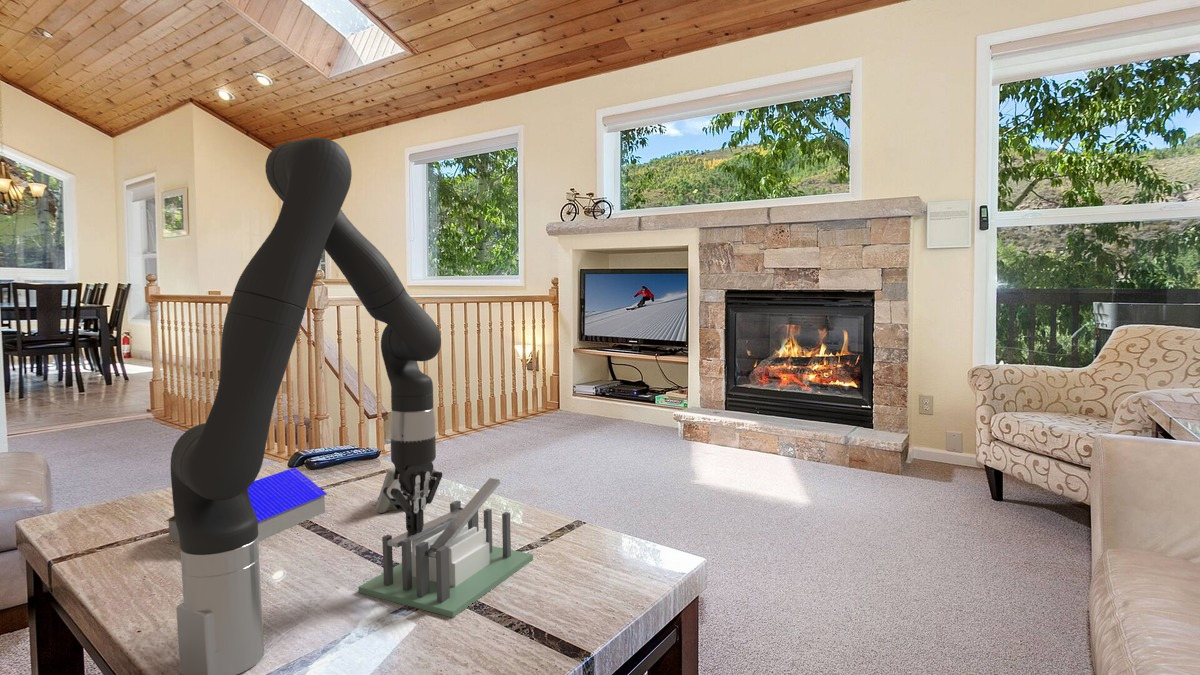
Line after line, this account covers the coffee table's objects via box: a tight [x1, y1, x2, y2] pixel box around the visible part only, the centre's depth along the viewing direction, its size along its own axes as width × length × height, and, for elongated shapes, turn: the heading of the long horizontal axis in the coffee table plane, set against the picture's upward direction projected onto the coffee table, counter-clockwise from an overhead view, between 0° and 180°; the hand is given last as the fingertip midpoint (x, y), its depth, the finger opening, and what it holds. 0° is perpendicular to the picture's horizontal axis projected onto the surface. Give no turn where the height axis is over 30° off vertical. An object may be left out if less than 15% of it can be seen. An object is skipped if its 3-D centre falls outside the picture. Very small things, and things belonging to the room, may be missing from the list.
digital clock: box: [375, 465, 411, 514], centre depth 155 cm, size 16×9×11 cm, turn 159°
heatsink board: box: [357, 500, 534, 619], centre depth 117 cm, size 24×20×10 cm
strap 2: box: [425, 477, 501, 558], centre depth 114 cm, size 20×2×1 cm, turn 154°
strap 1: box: [387, 507, 464, 549], centre depth 118 cm, size 20×2×1 cm, turn 155°
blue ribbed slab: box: [164, 467, 328, 543], centre depth 141 cm, size 19×25×10 cm
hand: (415, 531), depth 114 cm, fingers closed
